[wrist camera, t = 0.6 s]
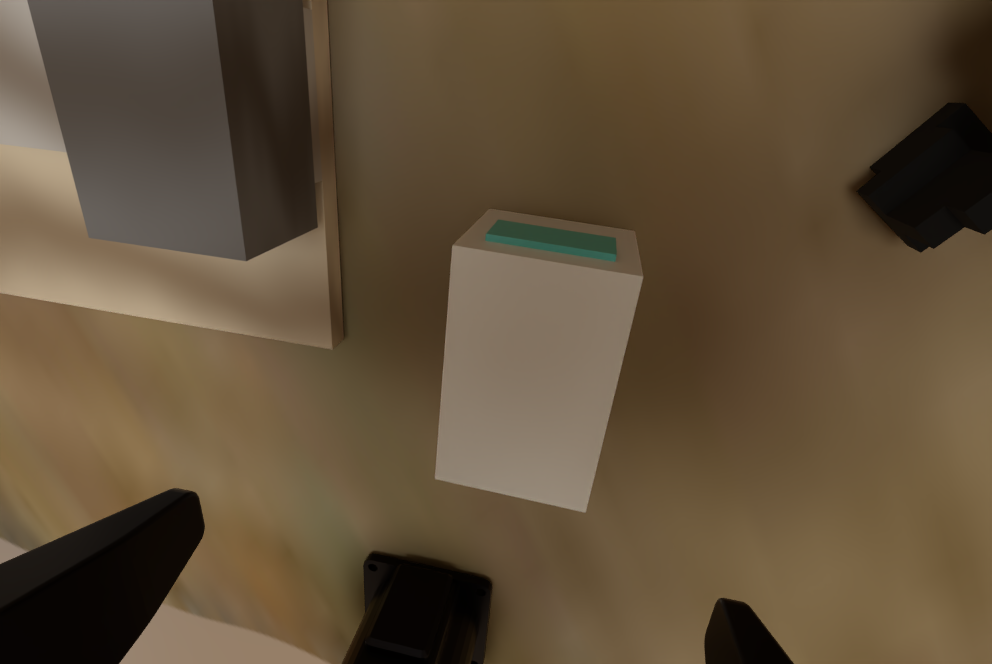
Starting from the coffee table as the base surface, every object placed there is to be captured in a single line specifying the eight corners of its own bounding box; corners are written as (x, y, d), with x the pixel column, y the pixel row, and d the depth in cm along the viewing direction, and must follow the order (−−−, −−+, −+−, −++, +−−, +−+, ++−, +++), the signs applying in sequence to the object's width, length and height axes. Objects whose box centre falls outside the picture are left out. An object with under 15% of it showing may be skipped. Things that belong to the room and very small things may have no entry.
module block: (590, 423, 21) (585, 512, 17) (470, 399, 22) (434, 479, 17) (636, 224, 18) (645, 269, 13) (491, 201, 18) (453, 238, 14)
